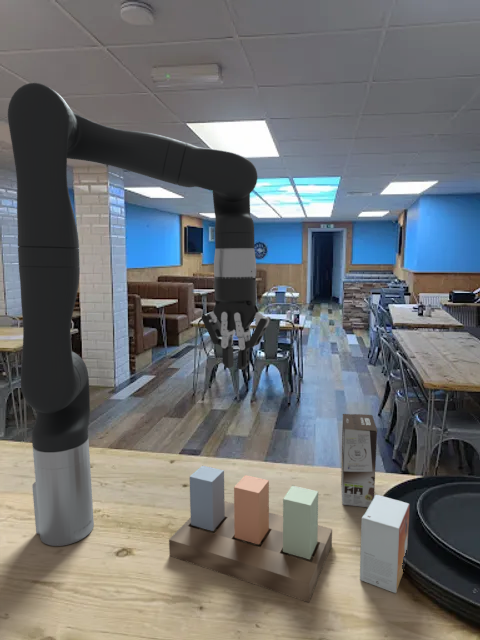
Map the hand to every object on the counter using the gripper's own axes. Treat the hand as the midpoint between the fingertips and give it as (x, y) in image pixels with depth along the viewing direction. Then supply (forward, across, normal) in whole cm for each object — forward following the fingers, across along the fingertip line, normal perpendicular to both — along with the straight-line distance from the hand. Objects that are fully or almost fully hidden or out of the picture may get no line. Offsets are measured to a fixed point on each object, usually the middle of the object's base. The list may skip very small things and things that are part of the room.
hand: (236, 367), depth 81 cm
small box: (+29, +28, -5) cm, 41 cm away
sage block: (+26, +16, -9) cm, 32 cm away
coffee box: (+29, +20, +16) cm, 39 cm away
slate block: (+26, -2, -9) cm, 28 cm away
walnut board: (+29, +7, -9) cm, 31 cm away
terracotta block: (+26, +7, -9) cm, 28 cm away
